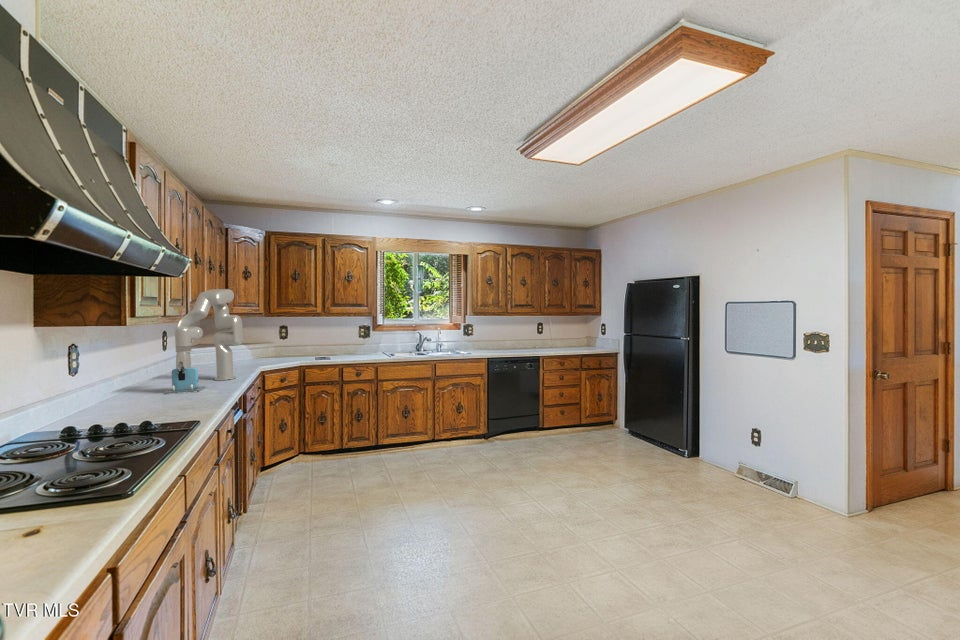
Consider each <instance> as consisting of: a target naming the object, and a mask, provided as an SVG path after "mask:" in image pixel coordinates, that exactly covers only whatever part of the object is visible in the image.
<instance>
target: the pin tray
mask: <svg viewBox="0 0 960 640" xmlns="http://www.w3.org/2000/svg"><path fill="white" fill-rule="evenodd" d="M171 387H172V388H170V389H168V390H166V391H163V393H175V394H178V393H177V392H190V393H195V392H194V391H199V392H201V391H203V390H204V389H203V388H205V387H206V388H207V386H206V385H202V386H201V385H200V386H199V385H198V387H197V388H195V389H193V384H191V385H190V388H191V389H187V390H175V385H174V386H172V385H171ZM206 388H205V389H206ZM202 389H203V390H202ZM200 390H201V391H200Z"/></svg>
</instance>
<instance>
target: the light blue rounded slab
mask: <svg viewBox="0 0 960 640" xmlns="http://www.w3.org/2000/svg"><path fill="white" fill-rule="evenodd" d="M182 371H183V370H182ZM184 373H185V380H181V381H179V380H178V370H177V369H176V368H174V369H172V370H171V387H172V386H174V385H175V390H187V389H191V388H190V385H191V384H193V389H195V388H197V387H199V370H198V368H197V367H196V366H194V367H193V366H191V367H190V368H187V369H185V371H184Z"/></svg>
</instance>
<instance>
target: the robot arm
mask: <svg viewBox="0 0 960 640" xmlns="http://www.w3.org/2000/svg"><path fill="white" fill-rule="evenodd" d="M234 298H235V294H234V291H233V290H232V289H229V288H224V289H223V288H221V289H220V288H218V289H217V288H215V289H212V288H211V289H207V290H206V291H202V292H200V293H199V294H198V296H197V298H196V301H195V303H194V305H193V307H192V309H191V311H189V312H188V313H186V314H184V316H182V317H181V318H180V319H179V320H178V322H177V325H176V327H175V329H174V341H175V342H174V344H175V345H174V346H175V354H176V356H175V357H176V358H175V369H177V370H178V380H179V381H181V380H185V373H184V371H185V369H187V368H191V367H192V360H191V359H192V357H191V352H192V340H199V339H201V338H202V337H203V335H204V331H203V329H202V328H201V327H199V326H191V325H192V324H193V323H195V322H198V321H201V320H203V319H205V318H207V317H208V316H209V315H208V314H209V312H210V310H211V308H213V314H214V324H215V328H216V329H217V330H231V331H218V332H215V334H214V335H213V343H214V348H215V363H216V377H214V381H229V380H228V379H231V380H235V379H236V378H237V376H236V375H234V361H233V359H234V358H233V357H234V356H233V350H232V349H231V348H230V346H231V347H232V346H234V347H236V346H237V347H238V346H240V345H242V344H243V341H244V331H243V330H244V329H243V328H244V327H243V321H242V320H243V319H242V318H241V316H239V315H238V314H230V309H229V306H228V304H229V303H232V301H234ZM211 306H212V307H211ZM182 370H183V371H182ZM234 378H235V379H234Z"/></svg>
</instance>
